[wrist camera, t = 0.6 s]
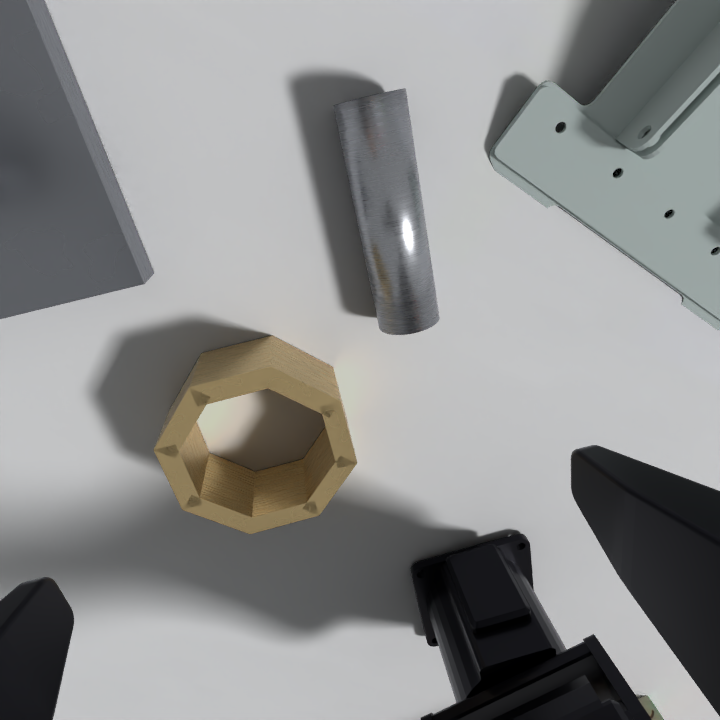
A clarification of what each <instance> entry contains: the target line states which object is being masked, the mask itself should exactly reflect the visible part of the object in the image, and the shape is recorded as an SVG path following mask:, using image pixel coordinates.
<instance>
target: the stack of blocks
mask: <svg viewBox="0 0 720 720" xmlns="http://www.w3.org/2000/svg"><path fill="white" fill-rule="evenodd" d="M638 700H639V701H640V703H641V704H642V706H643V707H644V709H645V710H646V712H647V713H648V715H649V716H650V718H651V719H652V720H664V719H663V717H662V716H661V714H660V713H659V711H658V710H657V708H656V707H655V706H654V704H653V703H652V701H651V700H650V698H649V697H648V696H644V697H641V698H638Z"/></svg>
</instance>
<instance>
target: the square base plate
mask: <svg viewBox="0 0 720 720" xmlns="http://www.w3.org/2000/svg"><path fill="white" fill-rule="evenodd" d="M153 274H154V271H153V269H152V266H151V264H150V261H149V259H148V256H147V254H146V251H145V249H144V246H143V244H142V241H141V239H140V236H139V234H138V231H137V229H136V226H135V224H134V221H133V219H132V216H131V214H130V212H129V209H128V207H127V204H126V202H125V199H124V197H123V194H122V192H121V189H120V187H119V184H118V182H117V179H116V177H115V174H114V172H113V169H112V167H111V164H110V162H109V159H108V157H107V154H106V152H105V150H104V147H103V145H102V142H101V140H100V137H99V135H98V132H97V130H96V127H95V125H94V122H93V120H92V117H91V115H90V112H89V110H88V107H87V105H86V102H85V100H84V97H83V95H82V92H81V90H80V87H79V85H78V83H77V80H76V78H75V75H74V73H73V70H72V68H71V65H70V63H69V60H68V58H67V55H66V53H65V50H64V48H63V45H62V43H61V40H60V38H59V35H58V33H57V30H56V28H55V25H54V23H53V21H52V18H51V16H50V13H49V11H48V8H47V6H46V3H45V1H44V0H0V319H3V318H7V317H11V316H15V315H19V314H23V313H27V312H31V311H35V310H39V309H44V308H48V307H52V306H56V305H60V304H64V303H68V302H72V301H76V300H80V299H85V298H89V297H93V296H97V295H101V294H105V293H109V292H113V291H117V290H121V289H125V288H130V287H134V286H138V285H142V284H145V283H146V282H147V280H148V279H149V278H150V277H151V276H152V275H153Z"/></svg>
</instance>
